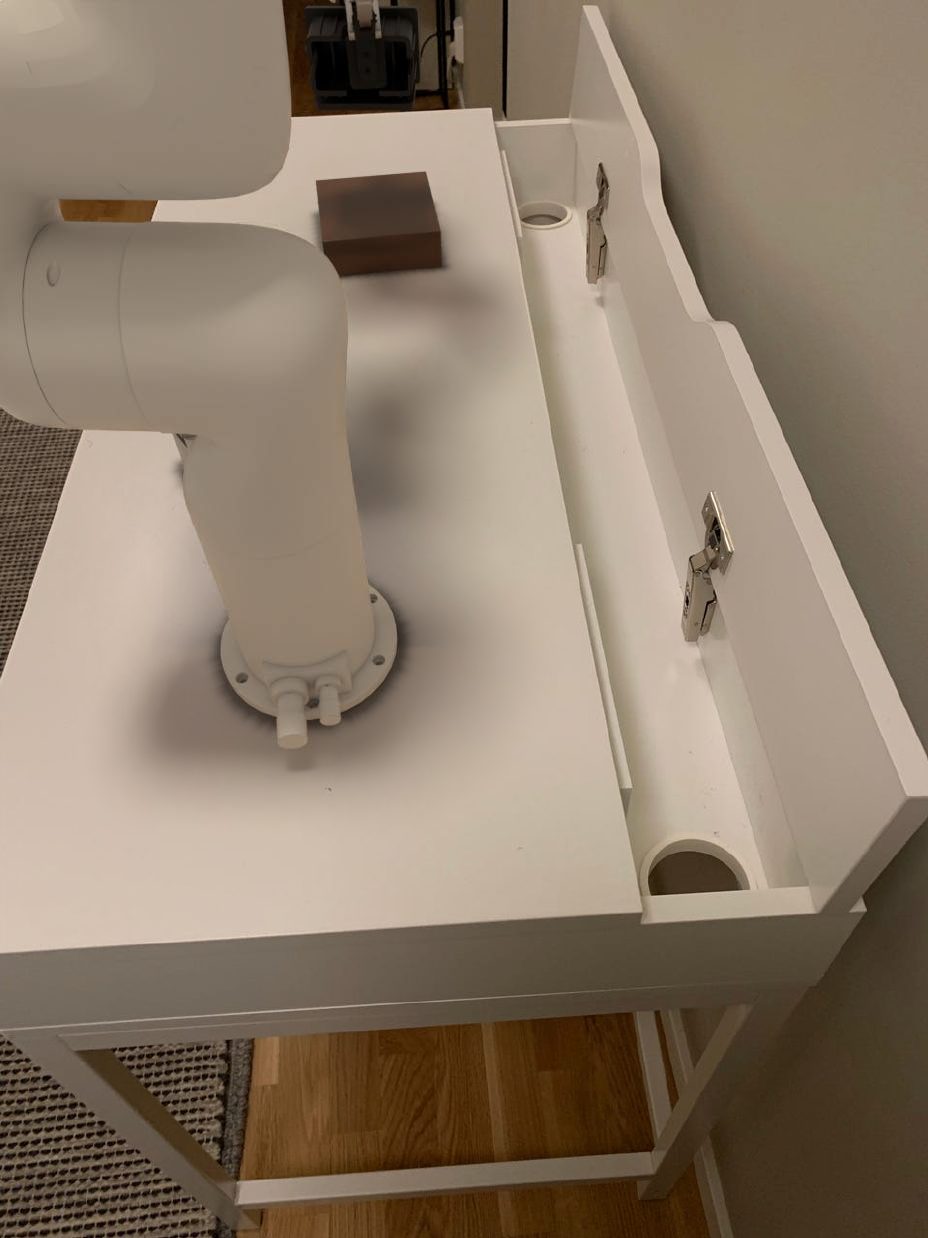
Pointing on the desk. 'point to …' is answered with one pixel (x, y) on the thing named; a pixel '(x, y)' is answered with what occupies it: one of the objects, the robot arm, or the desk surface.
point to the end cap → (332, 59)
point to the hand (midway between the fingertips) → (364, 64)
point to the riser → (379, 223)
